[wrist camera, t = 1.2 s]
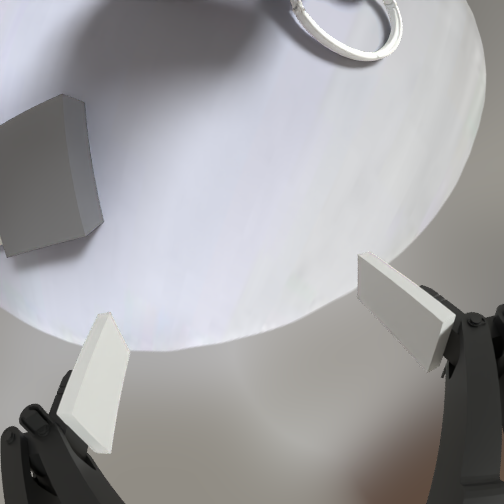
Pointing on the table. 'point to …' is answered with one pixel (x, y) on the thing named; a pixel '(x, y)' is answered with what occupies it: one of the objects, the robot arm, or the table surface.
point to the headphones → (345, 50)
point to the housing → (46, 177)
